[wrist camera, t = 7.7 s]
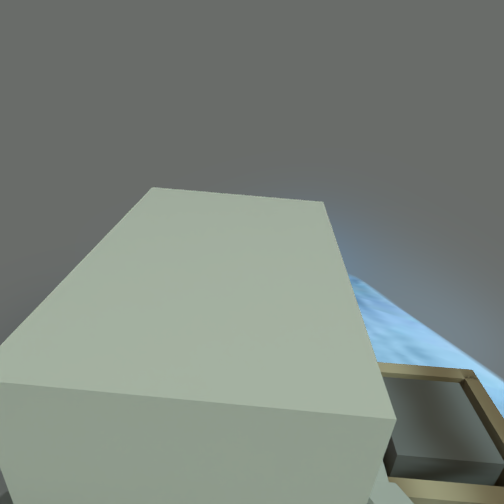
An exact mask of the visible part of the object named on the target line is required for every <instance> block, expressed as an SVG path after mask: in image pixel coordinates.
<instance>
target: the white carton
mask: <svg viewBox="0 0 504 504" xmlns="http://www.w3.org/2000/svg"><path fill="white" fill-rule="evenodd" d="M396 420H397V419H396V416H395V413H394V410H393V407H392V404H391V401H390V398H389V395H388V392H387V389H386V386H385V383H384V381H383V378H382V375H381V372H380V369H379V366H378V363H377V360H376V357H375V354H374V351H373V348H372V345H371V342H370V339H369V336H368V333H367V330H366V327H365V324H364V321H363V318H362V315H361V312H360V310H359V307H358V304H357V301H356V298H355V295H354V292H353V289H352V286H351V283H350V280H349V277H348V274H347V271H346V268H345V265H344V262H343V259H342V256H341V253H340V250H339V247H338V245H337V242H336V239H335V236H334V233H333V230H332V227H331V224H330V221H329V218H328V215H327V212H326V209H325V206H324V203H323V202H318V201H307V200H295V199H283V198H271V197H260V196H248V195H237V194H225V193H213V192H201V191H190V190H178V189H166V188H154V187H152V188H151V189H150V190H149V191H148V192H147V193H146V195H144V196H143V198H142V199H141V200H140V201H139V202H138V203H137V204H136V205H135V206H134V207H133V208H132V209H131V210H130V211H129V212H128V213H127V214H126V215H125V216H124V217H123V218H122V219H121V220H120V222H119V223H118V224H117V225H116V226H115V227H114V228H113V229H112V230H111V231H110V232H109V233H108V234H107V235H106V236H105V237H104V238H103V239H102V240H101V241H100V242H99V243H98V244H97V245H96V247H95V248H94V249H93V250H92V251H91V252H90V253H89V254H88V255H87V256H86V257H85V258H84V259H83V260H82V261H81V262H80V263H79V264H78V265H77V266H76V267H75V268H74V269H73V270H72V272H70V274H69V275H68V276H67V277H66V278H65V279H64V280H63V281H62V282H61V283H60V284H59V285H58V286H57V287H56V288H55V289H54V290H53V291H52V292H51V293H50V294H49V295H48V296H47V297H46V299H45V300H44V301H43V302H42V303H41V304H40V305H39V306H38V307H37V308H36V309H35V310H34V311H33V312H32V313H31V314H30V315H29V316H28V317H27V318H26V319H25V320H24V321H23V322H22V324H21V325H20V326H19V327H18V328H17V329H16V330H15V331H14V332H13V333H12V334H11V335H10V336H9V337H8V338H7V339H6V340H5V341H4V342H3V343H2V344H1V346H0V468H1V471H2V474H3V477H4V479H5V482H6V485H7V488H8V490H9V493H10V496H11V499H12V501H13V504H367V502H368V499H369V497H370V494H371V491H372V488H373V485H374V482H375V480H376V477H377V474H378V471H379V468H380V465H381V463H382V460H383V457H384V454H385V451H386V448H387V446H388V443H389V440H390V437H391V434H392V431H393V429H394V426H395V423H396Z"/></svg>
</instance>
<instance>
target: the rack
mask: <svg viewBox="0 0 504 504" xmlns="http://www.w3.org/2000/svg"><path fill="white" fill-rule="evenodd" d="M377 363H378V366H379V369H380V372H381V375H382V378H383V381H384V383H385V386H386V389H387V392H388V395H389V398H390V401H391V404H392V407H393V410H394V413H395V416H396V419H397V420H396V423H395V426H394V429H393V431H392V434H391V437H390V440H389V443H388V446H387V448H386V451H385V454H384V457H383V463H384V466H385V470H386V474H387V477H388V481H389V482H393V483H396V484H397V485H398V486H399V487H400V488H401V489H402V491H403V492H404V493H405V494H406V495H407V496H408V497H409V499H410V500H411V501H412V502H413V503H414V504H504V418H503V417H502V415H501V414H500V412H499V411H498V409H497V408H496V406H495V404H494V403H493V401H492V400H491V398H490V397H489V395H488V394H487V392H486V390H485V389H484V387H483V386H482V384H481V383H480V381H479V379H478V378H477V376H476V375H475V373H474V372H473V370H468V369H455V368H443V367H431V366H418V365H406V364H393V363H381V362H377Z"/></svg>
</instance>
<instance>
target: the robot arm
mask: <svg viewBox="0 0 504 504" xmlns="http://www.w3.org/2000/svg"><path fill="white" fill-rule="evenodd" d="M0 504H13V501H12V499H11V496H10V493H9V490H8V488H7V485H6V482H5V479H4V477H3V474H2V471H1V468H0ZM367 504H414V503H413V502H412V501H411V500H410V499H409V497H408V496H407V495H406V494H405V493H404V492H403V491H402V489H401V488H400V487H399V486H398V485H397V484H396V483H393V482H389V481H388V477H387V474H386V470H385V466H384V463H383V460H382V463H381V465H380V468H379V471H378V474H377V477H376V480H375V482H374V485H373V488H372V491H371V494H370V497H369V499H368V502H367Z"/></svg>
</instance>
